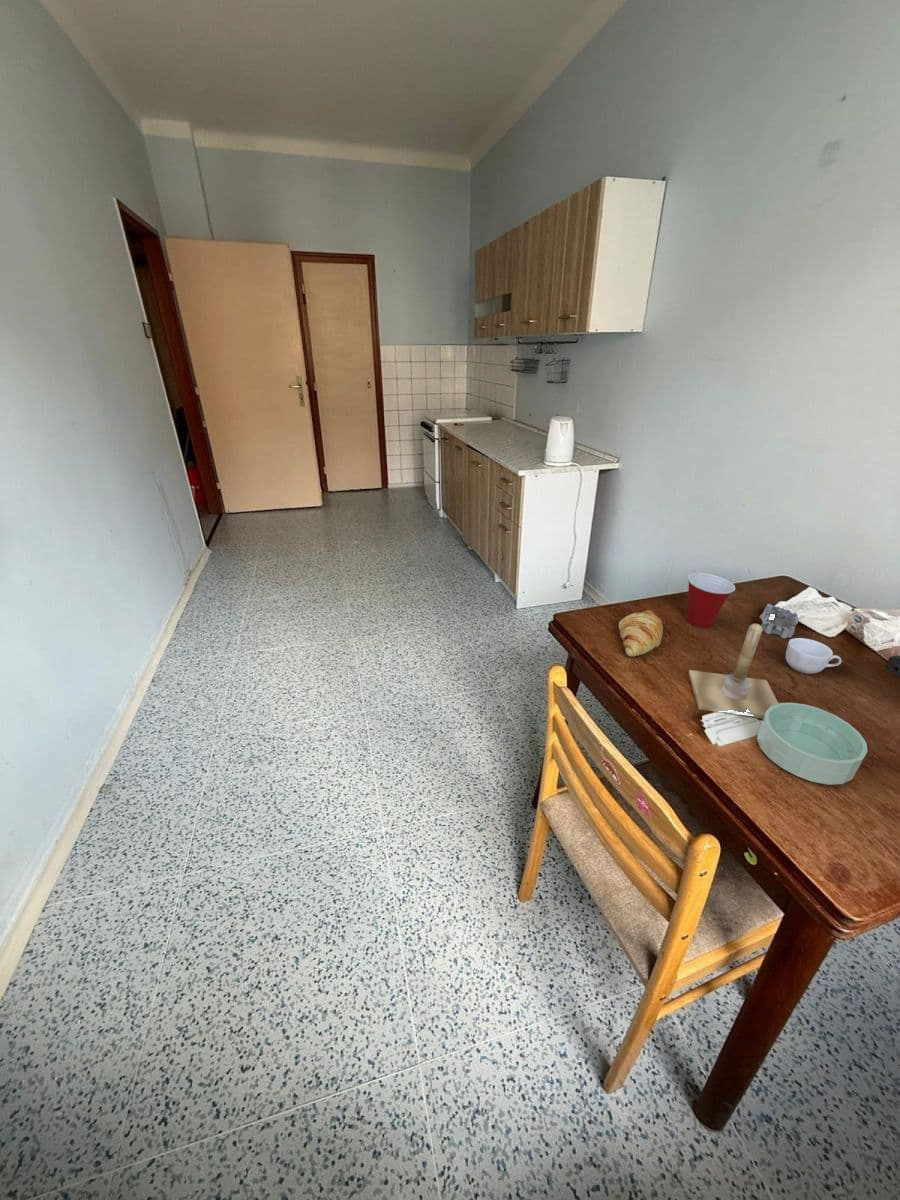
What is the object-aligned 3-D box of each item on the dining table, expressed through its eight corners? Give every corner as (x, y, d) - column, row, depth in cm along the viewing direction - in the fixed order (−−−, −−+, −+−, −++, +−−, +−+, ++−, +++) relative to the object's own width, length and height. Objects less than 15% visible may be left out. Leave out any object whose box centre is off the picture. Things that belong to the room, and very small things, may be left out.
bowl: (832, 732, 87) (844, 709, 84) (871, 795, 75) (885, 770, 72) (746, 719, 90) (755, 697, 88) (770, 777, 78) (780, 753, 76)
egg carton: (791, 641, 114) (796, 626, 112) (755, 631, 118) (760, 617, 116) (797, 623, 121) (802, 609, 119) (763, 614, 125) (768, 600, 123)
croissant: (639, 676, 108) (663, 655, 103) (603, 649, 110) (624, 627, 105) (656, 631, 124) (677, 611, 119) (624, 608, 126) (643, 588, 120)
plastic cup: (728, 636, 116) (741, 592, 110) (680, 630, 119) (691, 587, 113) (719, 614, 125) (731, 573, 119) (675, 609, 128) (684, 569, 122)
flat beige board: (765, 683, 100) (766, 680, 99) (784, 722, 89) (786, 718, 89) (688, 673, 103) (689, 669, 103) (698, 709, 93) (699, 705, 93)
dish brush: (743, 687, 97) (767, 619, 89) (749, 701, 93) (774, 632, 86) (719, 683, 98) (740, 616, 91) (724, 697, 94) (746, 629, 87)
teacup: (784, 673, 103) (792, 652, 100) (778, 654, 109) (786, 634, 106) (839, 684, 99) (849, 663, 96) (831, 664, 105) (840, 644, 102)
